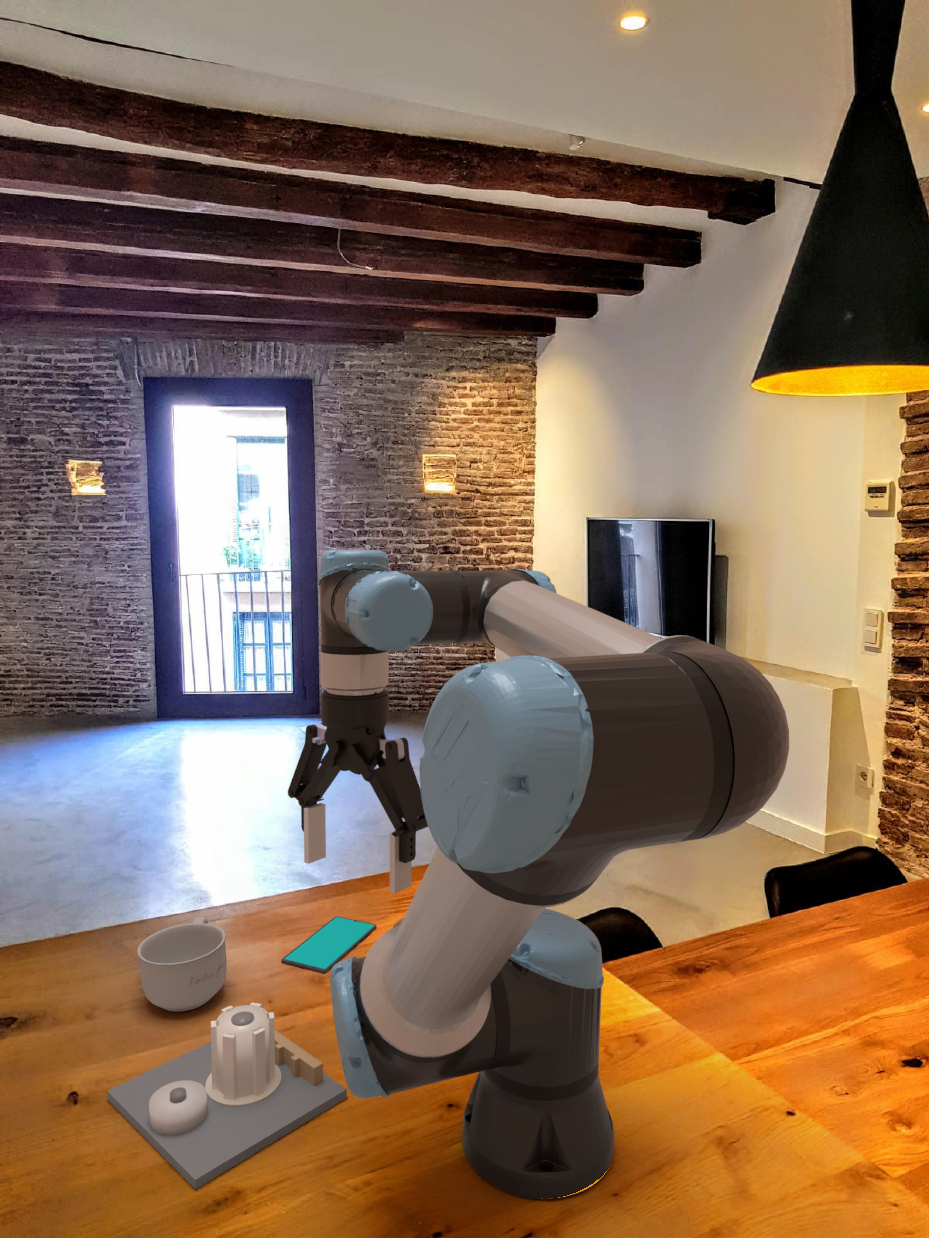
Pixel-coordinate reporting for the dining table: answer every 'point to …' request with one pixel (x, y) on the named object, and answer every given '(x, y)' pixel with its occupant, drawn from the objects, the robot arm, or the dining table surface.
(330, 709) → the robot arm
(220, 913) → the dining table surface
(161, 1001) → the teacup
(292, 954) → the smartphone
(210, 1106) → the carrier plate
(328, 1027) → the dining table surface
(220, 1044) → the planet gear
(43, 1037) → the dining table surface
